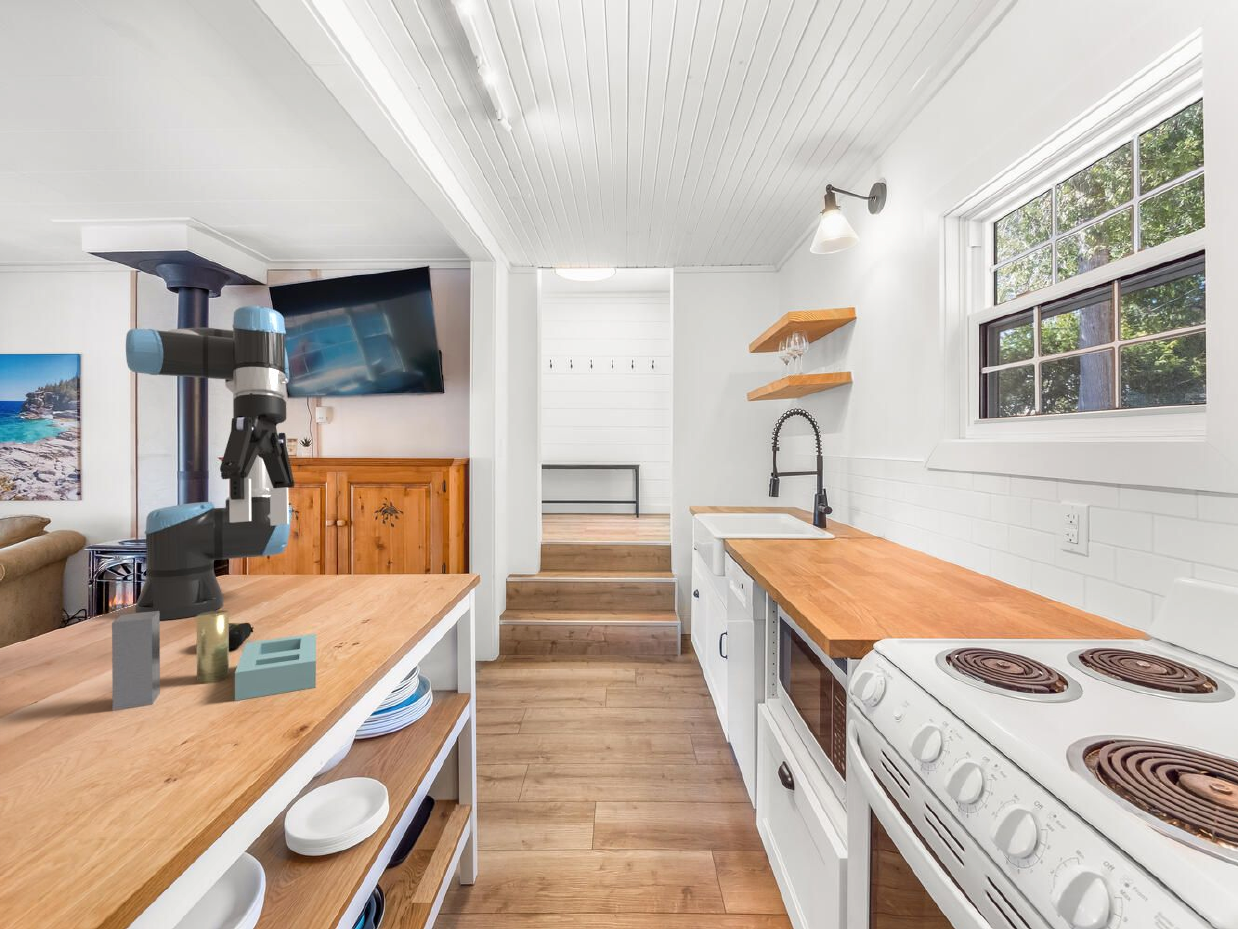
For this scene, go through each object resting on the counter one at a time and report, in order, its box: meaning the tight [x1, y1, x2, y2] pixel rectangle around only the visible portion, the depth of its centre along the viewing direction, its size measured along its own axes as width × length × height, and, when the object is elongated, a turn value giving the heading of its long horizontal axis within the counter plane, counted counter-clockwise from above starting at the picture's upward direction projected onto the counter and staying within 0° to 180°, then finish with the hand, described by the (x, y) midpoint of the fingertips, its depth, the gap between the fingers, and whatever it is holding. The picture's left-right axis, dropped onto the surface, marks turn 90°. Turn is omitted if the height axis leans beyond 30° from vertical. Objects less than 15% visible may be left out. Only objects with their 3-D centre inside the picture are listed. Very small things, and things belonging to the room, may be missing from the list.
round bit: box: [196, 609, 230, 684], centre depth 86 cm, size 4×4×10 cm
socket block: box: [234, 633, 317, 702], centre depth 87 cm, size 14×10×4 cm
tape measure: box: [229, 622, 254, 649], centre depth 100 cm, size 7×7×4 cm
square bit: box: [111, 611, 161, 712], centre depth 78 cm, size 4×4×12 cm
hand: (261, 523), depth 91 cm, fingers open, 13 cm apart
